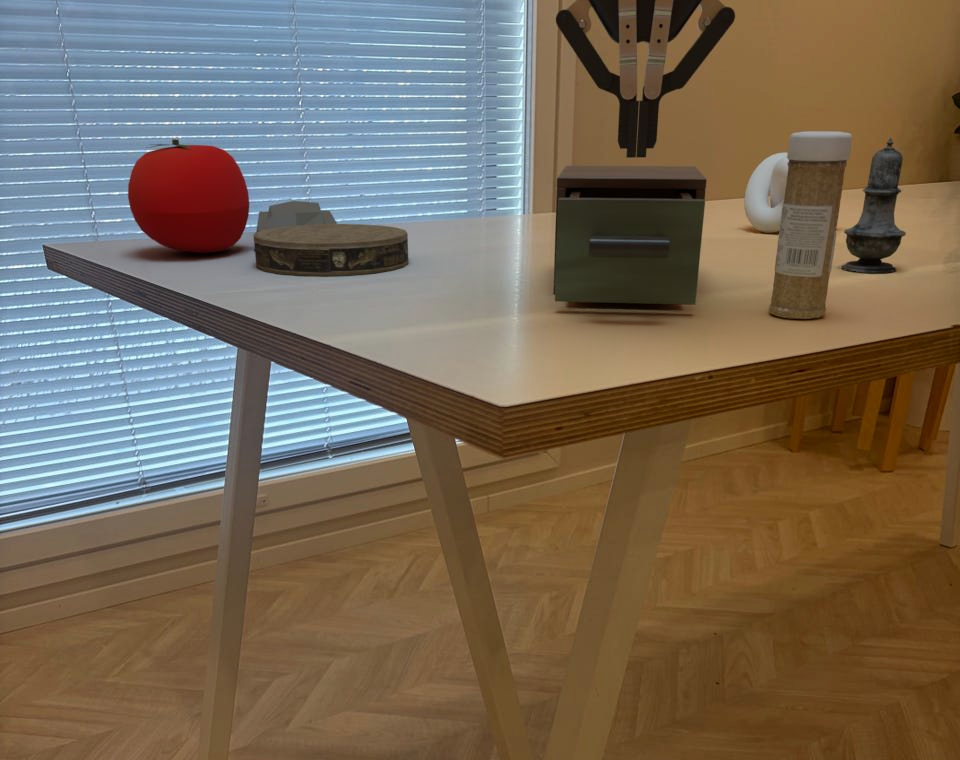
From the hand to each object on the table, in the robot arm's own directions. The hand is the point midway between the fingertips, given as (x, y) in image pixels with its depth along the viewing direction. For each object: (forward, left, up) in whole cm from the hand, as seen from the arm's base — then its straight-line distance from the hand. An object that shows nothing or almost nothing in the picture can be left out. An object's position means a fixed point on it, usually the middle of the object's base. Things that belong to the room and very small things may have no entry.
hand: (636, 156), depth 76 cm
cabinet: (+13, -13, -12) cm, 22 cm away
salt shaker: (+3, -38, -12) cm, 40 cm away
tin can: (+40, +3, -12) cm, 42 cm away
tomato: (+56, +11, -12) cm, 58 cm away
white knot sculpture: (+27, -56, -12) cm, 63 cm away
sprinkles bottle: (-7, -13, -12) cm, 19 cm away
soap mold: (+60, -4, -12) cm, 61 cm away
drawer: (+5, -5, -11) cm, 13 cm away
